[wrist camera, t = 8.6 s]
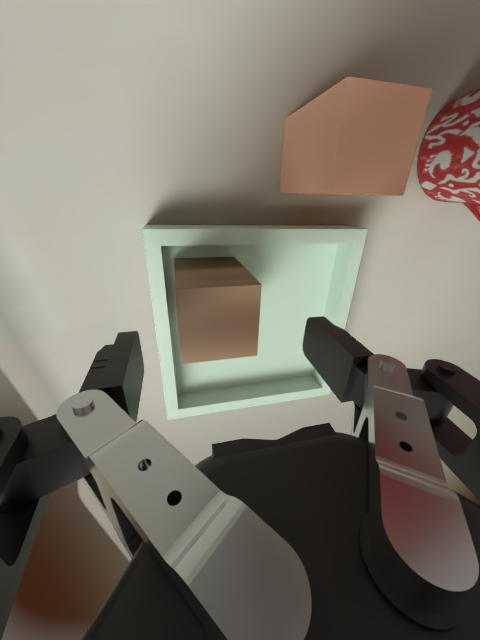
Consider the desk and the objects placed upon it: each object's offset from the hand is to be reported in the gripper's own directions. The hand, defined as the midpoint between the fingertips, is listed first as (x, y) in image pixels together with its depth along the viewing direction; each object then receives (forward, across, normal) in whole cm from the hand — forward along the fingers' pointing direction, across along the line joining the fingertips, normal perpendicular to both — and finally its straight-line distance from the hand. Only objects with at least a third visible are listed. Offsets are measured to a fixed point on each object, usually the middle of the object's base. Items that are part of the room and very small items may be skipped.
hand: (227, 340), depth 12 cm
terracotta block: (+10, -8, -8) cm, 15 cm away
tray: (+10, -4, +4) cm, 11 cm away
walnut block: (+9, 0, 0) cm, 9 cm away
